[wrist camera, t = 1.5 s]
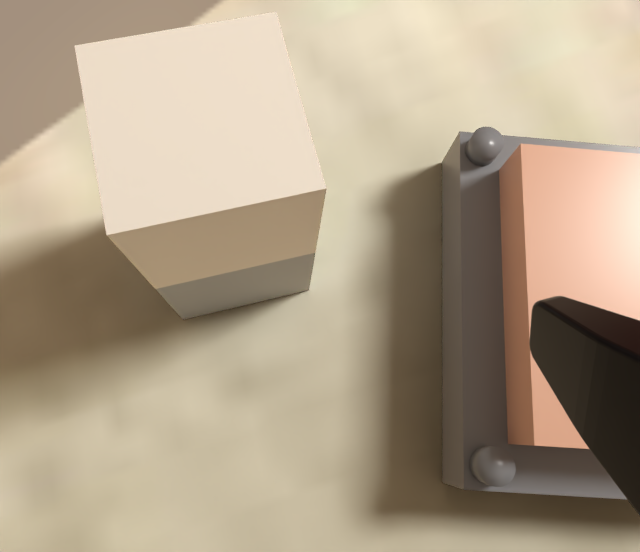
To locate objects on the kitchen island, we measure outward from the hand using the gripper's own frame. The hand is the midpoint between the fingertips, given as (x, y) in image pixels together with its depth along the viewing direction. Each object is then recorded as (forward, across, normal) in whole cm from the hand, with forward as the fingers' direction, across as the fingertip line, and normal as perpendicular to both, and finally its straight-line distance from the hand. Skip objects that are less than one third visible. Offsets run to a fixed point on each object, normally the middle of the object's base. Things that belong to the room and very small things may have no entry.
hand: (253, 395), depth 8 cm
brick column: (+14, 0, +4) cm, 15 cm away
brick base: (+9, -14, +9) cm, 19 cm away
